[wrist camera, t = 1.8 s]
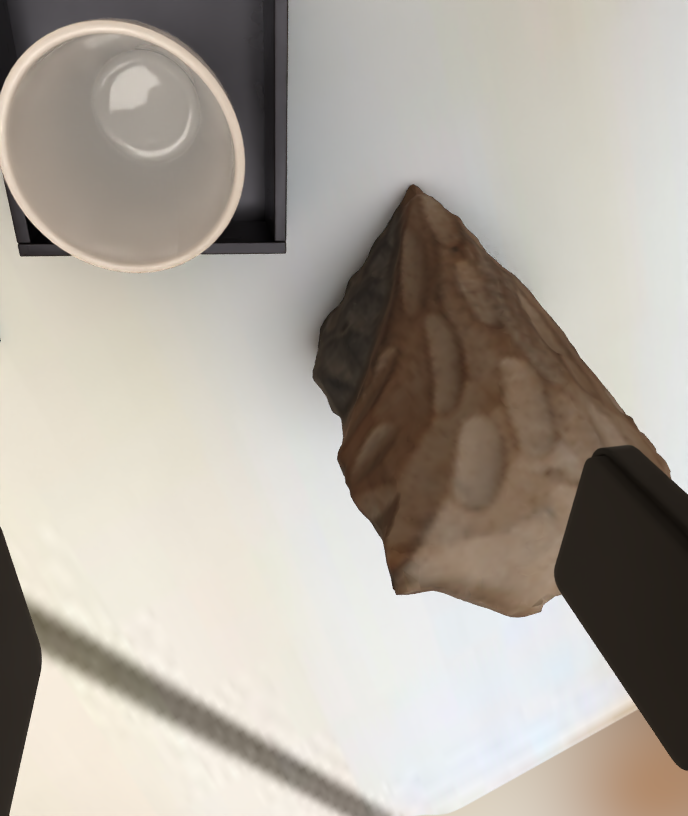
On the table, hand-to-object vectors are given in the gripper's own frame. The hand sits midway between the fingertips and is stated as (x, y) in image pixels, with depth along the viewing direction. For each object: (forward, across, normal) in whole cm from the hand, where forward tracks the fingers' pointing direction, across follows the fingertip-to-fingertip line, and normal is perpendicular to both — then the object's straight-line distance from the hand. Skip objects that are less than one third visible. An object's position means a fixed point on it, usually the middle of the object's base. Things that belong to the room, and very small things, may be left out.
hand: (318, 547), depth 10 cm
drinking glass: (+27, +3, -4) cm, 27 cm away
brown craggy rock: (+27, -11, +6) cm, 30 cm away
